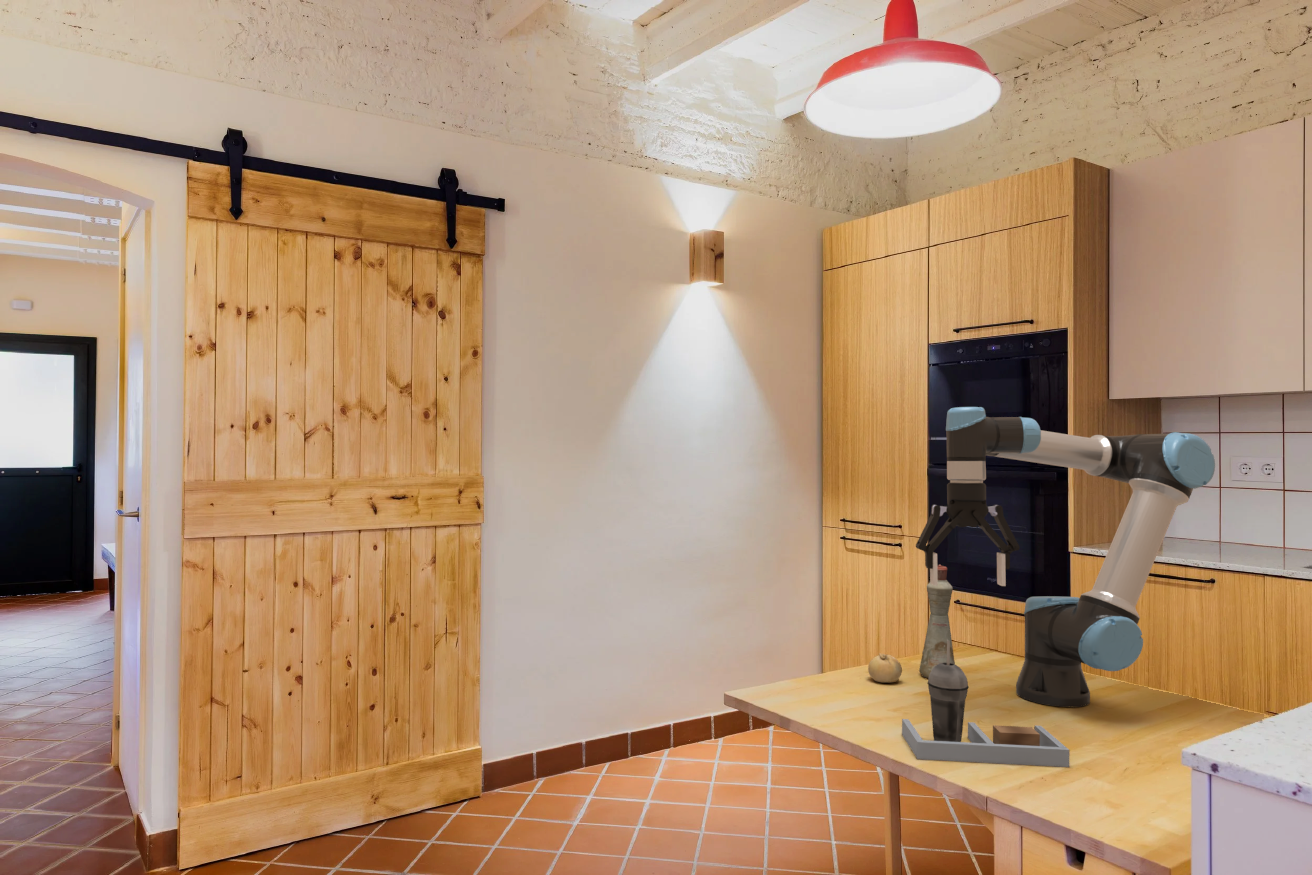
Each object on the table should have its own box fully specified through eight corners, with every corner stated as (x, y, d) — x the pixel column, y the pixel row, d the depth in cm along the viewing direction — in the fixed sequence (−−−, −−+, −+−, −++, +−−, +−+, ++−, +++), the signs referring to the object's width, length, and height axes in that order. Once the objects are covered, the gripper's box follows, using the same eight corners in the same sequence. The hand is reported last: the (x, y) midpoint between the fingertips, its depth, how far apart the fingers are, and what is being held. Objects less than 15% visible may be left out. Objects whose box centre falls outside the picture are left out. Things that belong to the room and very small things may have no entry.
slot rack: (1040, 741, 153) (1040, 725, 154) (1069, 766, 141) (1069, 749, 141) (901, 734, 156) (902, 718, 156) (917, 758, 143) (917, 741, 143)
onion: (863, 677, 198) (863, 648, 198) (893, 676, 199) (894, 648, 199) (875, 686, 190) (875, 656, 190) (907, 685, 191) (907, 656, 191)
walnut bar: (1031, 748, 150) (1031, 727, 150) (1039, 756, 146) (1039, 734, 146) (992, 746, 151) (992, 725, 151) (999, 754, 147) (1000, 732, 147)
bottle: (920, 680, 196) (921, 565, 197) (918, 671, 205) (919, 561, 205) (958, 683, 193) (959, 567, 194) (954, 674, 202) (955, 562, 203)
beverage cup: (967, 743, 152) (968, 637, 152) (969, 756, 145) (970, 645, 145) (926, 738, 154) (927, 633, 155) (926, 751, 147) (927, 641, 148)
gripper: (1021, 481, 169) (1022, 582, 168) (900, 481, 170) (901, 581, 170) (1035, 482, 161) (1037, 588, 161) (909, 482, 163) (910, 587, 162)
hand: (967, 584), depth 165 cm, fingers open, 13 cm apart
